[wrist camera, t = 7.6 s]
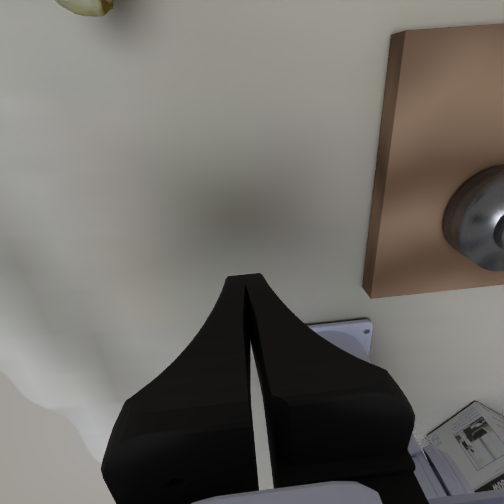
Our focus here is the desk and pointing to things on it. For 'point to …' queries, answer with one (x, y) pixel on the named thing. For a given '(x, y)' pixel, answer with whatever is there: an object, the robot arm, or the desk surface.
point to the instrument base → (433, 155)
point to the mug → (87, 6)
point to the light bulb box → (475, 446)
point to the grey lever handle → (479, 220)
